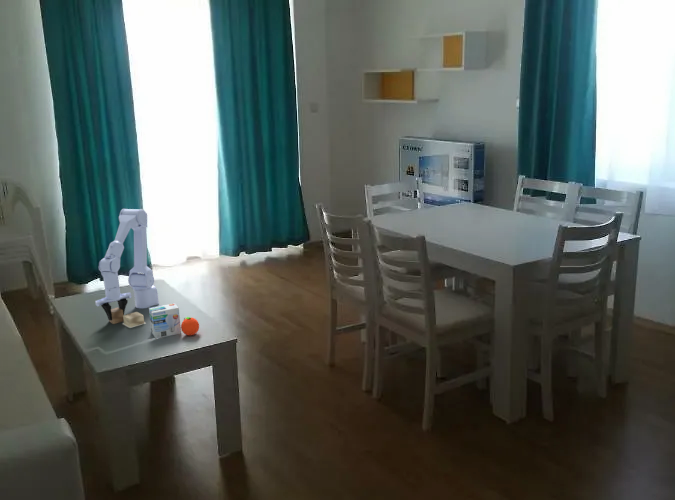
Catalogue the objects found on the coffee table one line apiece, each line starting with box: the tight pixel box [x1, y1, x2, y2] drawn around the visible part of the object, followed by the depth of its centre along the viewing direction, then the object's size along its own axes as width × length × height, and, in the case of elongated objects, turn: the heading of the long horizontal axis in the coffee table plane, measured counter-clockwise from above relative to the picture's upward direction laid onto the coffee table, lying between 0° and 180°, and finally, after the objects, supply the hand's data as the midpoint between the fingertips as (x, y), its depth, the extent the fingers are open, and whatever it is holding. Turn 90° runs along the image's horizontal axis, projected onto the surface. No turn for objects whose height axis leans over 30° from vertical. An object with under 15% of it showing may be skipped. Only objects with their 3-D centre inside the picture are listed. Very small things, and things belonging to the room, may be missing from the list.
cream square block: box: [123, 311, 145, 328], centre depth 269 cm, size 6×6×4 cm
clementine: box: [180, 316, 200, 336], centre depth 257 cm, size 8×7×7 cm
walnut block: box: [108, 307, 124, 325], centre depth 272 cm, size 4×4×5 cm
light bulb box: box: [148, 302, 182, 339], centre depth 258 cm, size 11×7×11 cm, turn 117°
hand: (116, 318), depth 272 cm, fingers closed on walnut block, 4 cm apart
